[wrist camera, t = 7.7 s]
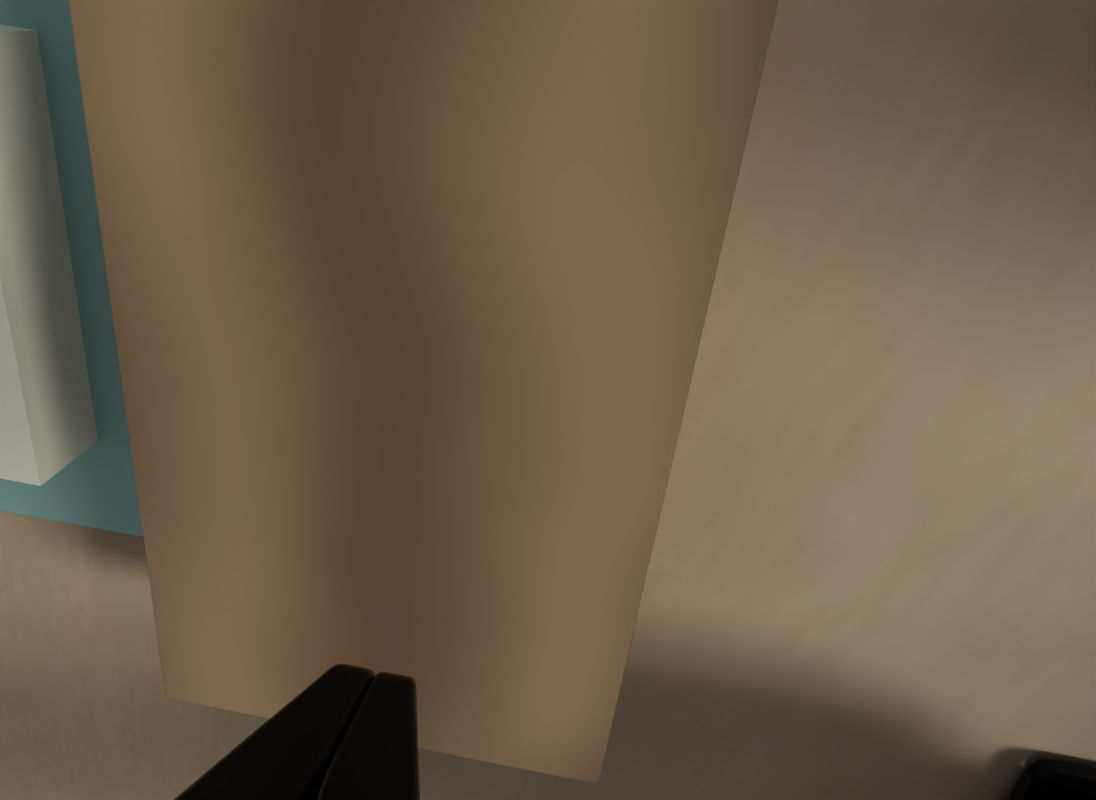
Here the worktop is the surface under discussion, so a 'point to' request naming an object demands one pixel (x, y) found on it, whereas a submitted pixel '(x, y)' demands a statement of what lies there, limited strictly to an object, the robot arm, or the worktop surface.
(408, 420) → the brown box
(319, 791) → the robot arm
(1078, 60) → the worktop surface
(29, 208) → the white block
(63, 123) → the mat
